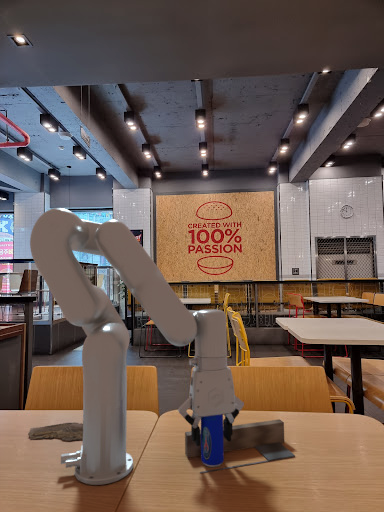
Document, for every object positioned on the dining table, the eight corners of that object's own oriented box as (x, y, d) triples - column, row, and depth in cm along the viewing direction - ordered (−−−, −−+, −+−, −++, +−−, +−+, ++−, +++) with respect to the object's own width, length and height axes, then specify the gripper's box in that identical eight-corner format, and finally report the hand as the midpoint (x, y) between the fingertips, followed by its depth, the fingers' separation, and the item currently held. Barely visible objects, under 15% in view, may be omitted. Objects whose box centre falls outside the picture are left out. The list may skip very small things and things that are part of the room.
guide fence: (196, 474, 72) (195, 449, 73) (185, 453, 81) (185, 432, 82) (300, 456, 80) (300, 434, 80) (280, 438, 88) (279, 419, 89)
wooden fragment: (16, 440, 89) (16, 436, 89) (39, 423, 100) (40, 419, 100) (109, 445, 87) (110, 440, 87) (123, 427, 97) (123, 423, 97)
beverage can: (197, 459, 78) (196, 393, 80) (216, 454, 81) (215, 390, 82) (207, 470, 74) (206, 400, 75) (227, 464, 76) (226, 396, 77)
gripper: (179, 369, 73) (179, 454, 72) (251, 363, 78) (253, 443, 76) (171, 361, 80) (172, 439, 79) (238, 356, 85) (240, 429, 84)
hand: (212, 440), depth 78 cm, fingers open, 6 cm apart
